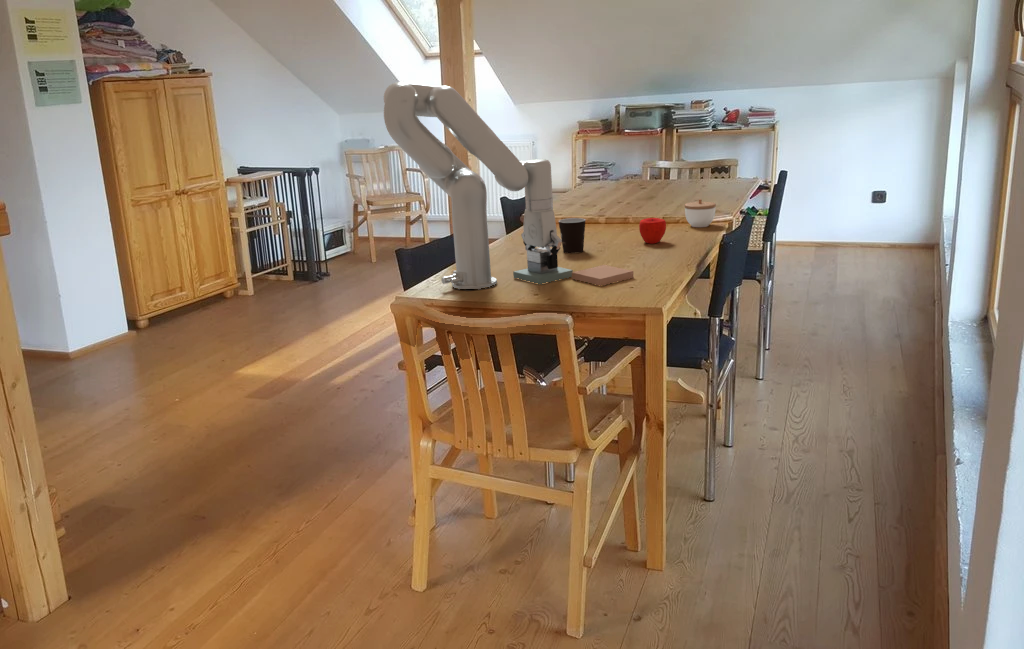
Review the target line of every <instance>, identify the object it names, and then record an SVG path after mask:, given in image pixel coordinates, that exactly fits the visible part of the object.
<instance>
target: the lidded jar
mask: <svg viewBox="0 0 1024 649" xmlns="http://www.w3.org/2000/svg"><path fill="white" fill-rule="evenodd" d="M702 200H703V199H702V198H699V199H698V201H693V202H692V201H691V202H686V203H685V204H684V214H685V215H684V216H685V218H686V221H687V223H688V224H690V226H691V227H693V228H707V227H709V226H710V225H711V223H713V221H714V219H715V215H716V206H717V205H716V202H713V201H702Z"/></svg>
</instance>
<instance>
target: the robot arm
mask: <svg viewBox="0 0 1024 649" xmlns="http://www.w3.org/2000/svg"><path fill="white" fill-rule="evenodd" d="M383 103H384V106H383V119H384V124H385V128H386V130H387V132H388V135H389V136H390V137H391V139H392V140H393V141H394V142H395V144H396V145H398V147H399V148H400V149H401V150H402V151H404V153H406V154H407V155H408V157H410V159H412V160H413V162H415V163H416V164H417V165H418V167H419V169H420V170H421V171H422V172H423V174H425V175H426V176H427V177H428V178H429V179H430V180H431V181H433V182H434V184H436V185H437V186H438V187H439V188H440V189H441V190H442V191H443V192H445V194H446V195H448V197H450V198H451V202H450V203H451V221H452V224H451V225H452V234H453V244H454V245H453V246H454V257H455V258H454V260H455V267H456V268H455V269H456V270H452V273H451V274H450V275H446V276H442V277H441V280H440V281H441V283H442V284H443V285H445V284H449V283H450V284H451V286H453V287H454V288H453V287H452V288H453V289H455V288H458V289H457V290H460V289H478V290H482V289H481V288H485V287H489V288H491V287H490V286H492V285H494V286H496V285H497V284H498V280H497V278H496V277H494V276H492V272H491V271H492V270H491V258H490V257H491V255H490V243H489V231H488V230H489V228H488V214H487V213H488V210H487V208H488V206H487V205H488V204H487V201H488V193H487V186H486V184H485V181H484V180H483V178H482V177H481V175H479V173H477V172H475V171H473V170H471V169H470V167H468V165H466V164H465V163H464V162H463V161H462V160H461V159H460V158H459V157H458V156H457V155H456V154H455V153H454V152H453V151H452V149H451V148H450V147H449V146H448V145H446V144H445V143H444V142H442V141H441V140H440V139H439V138H437V137H436V136H435V135H434V134H433V133H432V132H431V131H430V130H429V129H428V128H427V127H426V126H425V125H424V123H422V121H420V119H419V117H424V118H426V117H427V118H437V119H438V120H439V121H440V122H441V123H442V124H443V126H444V127H445V128H446V129H447V130H448V131H449V132H450V133H451V135H453V137H454V138H455V139H456V140H457V141H458V142H459V144H460V145H461V146H462V147H463V148H464V149H465V150H466V151H468V152H469V153H470V154H471V155H472V156H474V157H476V158H477V159H478V160H479V161H480V162H481V163H482V164H483V165H484V166H485V168H487V169H488V170H489V171H490V172H491V173H492V174H493V175H494V178H495V181H496V182H497V184H498V185H500V186H501V187H503V188H504V189H506V190H508V191H509V192H519V191H521V190H523V189H524V198H525V209H524V212H523V228H522V230H523V232H522V233H521V239H522V241H523V244H524V246H525V247H524V249H525V250H526V251H527V250H531V249H536V248H541V247H545V248H546V250H547V252H548V254H549V255H547V266H548V269H553V268H557V267H559V263H558V262H559V261H558V260H559V259H558V254H559V253H560V252H559V251H560V249H561V245H562V240H561V237H559V236H558V230H557V224H556V218H555V212H554V203H553V184H552V182H553V181H552V166H551V165H552V164H551V161H549V159H546V158H537V159H536V158H535V159H529V160H528V159H527V160H519V159H518V157H516V155H515V154H514V152H512V150H511V149H510V148H508V147H507V145H506V144H505V143H504V142H503V141H502V140H501V139H500V137H499V136H498V135H497V134H496V133H495V132H494V131H493V130H492V128H491V127H490V126H488V124H487V123H486V122H485V121H484V120H483V119H482V118H481V116H480V115H479V114H478V113H477V112H476V111H475V110H474V108H473V107H472V106H471V105H470V104H469V103H468V102H467V100H465V98H464V97H463V96H462V95H461V94H460V93H459V92H458V91H457V90H456V89H455V88H454V87H452V86H448V85H430V84H429V85H428V84H420V83H409V82H404V81H396V82H392V83H391V84H390V85H388V86H387V87H386V89H385V91H384V94H383ZM550 248H551V249H550ZM496 283H497V284H496ZM495 284H496V285H495ZM492 287H493V286H492ZM485 289H486V288H485Z"/></svg>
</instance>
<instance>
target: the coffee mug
mask: <svg viewBox="0 0 1024 649" xmlns="http://www.w3.org/2000/svg"><path fill="white" fill-rule="evenodd" d="M557 222H558V226H559V228H558V229H559V233H560V239H561V240H562V243H561V245H562V252H563V253H564V254H579V253H583V252H584V247H585V246H584V245H585V244H584V243H585V233H586V232H585V231H586V219H585V218H582V217H570V218H563V219H559V220H558V221H557Z"/></svg>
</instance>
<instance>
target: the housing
mask: <svg viewBox="0 0 1024 649" xmlns="http://www.w3.org/2000/svg"><path fill="white" fill-rule="evenodd" d="M550 249H552V247H550ZM547 255H549V254H548V252H547V250H546V248H545V247H535V249H531V250H526V259H527V268H528V271H529V272H533V273H537V274H544V273H549V272H553V271H557V270H558V267H559V266H558V267H557V268H553V269H548V266H547Z"/></svg>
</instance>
